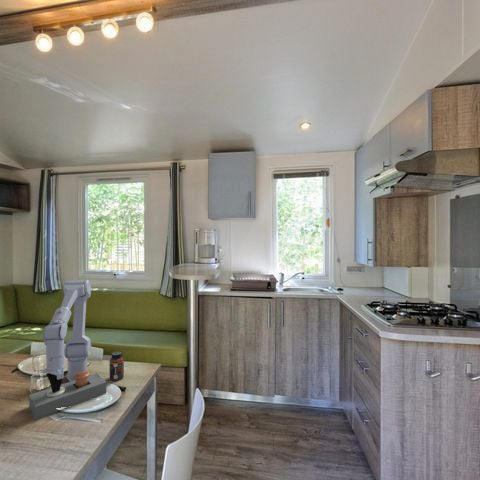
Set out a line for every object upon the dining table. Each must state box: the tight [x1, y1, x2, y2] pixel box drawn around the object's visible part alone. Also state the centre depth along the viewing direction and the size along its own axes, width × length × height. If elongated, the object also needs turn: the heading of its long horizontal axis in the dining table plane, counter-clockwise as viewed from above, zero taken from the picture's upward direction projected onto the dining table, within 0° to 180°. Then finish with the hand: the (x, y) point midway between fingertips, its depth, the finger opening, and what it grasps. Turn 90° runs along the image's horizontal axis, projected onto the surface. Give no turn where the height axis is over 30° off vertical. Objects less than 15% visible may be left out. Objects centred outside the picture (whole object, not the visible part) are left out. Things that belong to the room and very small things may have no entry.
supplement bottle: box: [109, 351, 125, 382], centre depth 130 cm, size 6×6×11 cm
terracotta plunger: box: [73, 370, 91, 388], centre depth 116 cm, size 6×6×4 cm
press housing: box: [28, 372, 107, 421], centre depth 113 cm, size 24×11×4 cm, turn 135°
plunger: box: [46, 387, 65, 398], centre depth 110 cm, size 6×6×4 cm
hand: (55, 391), depth 110 cm, fingers closed, pressing on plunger
